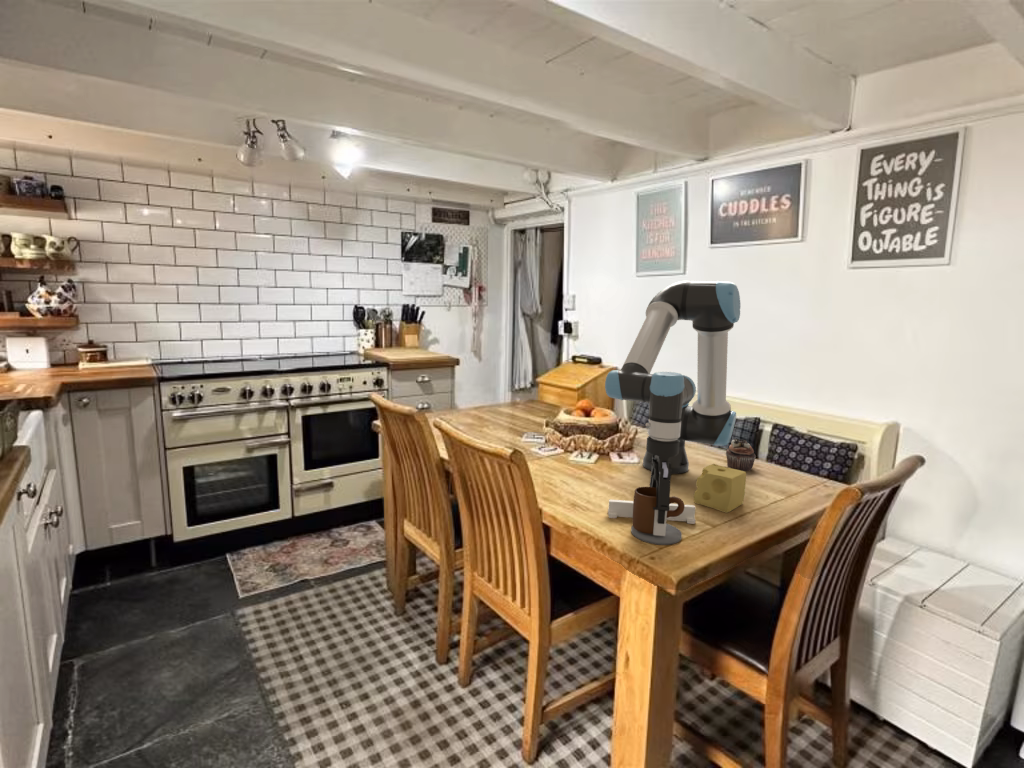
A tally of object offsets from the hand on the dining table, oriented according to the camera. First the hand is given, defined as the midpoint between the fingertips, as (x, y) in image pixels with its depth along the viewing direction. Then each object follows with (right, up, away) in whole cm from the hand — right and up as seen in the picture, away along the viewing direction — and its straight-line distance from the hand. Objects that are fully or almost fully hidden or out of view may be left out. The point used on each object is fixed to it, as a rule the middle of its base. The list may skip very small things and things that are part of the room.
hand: (656, 527), depth 134 cm
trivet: (0, -2, 0) cm, 2 cm away
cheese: (+24, +1, +22) cm, 32 cm away
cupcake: (+44, +6, +56) cm, 71 cm away
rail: (+1, 0, +10) cm, 10 cm away
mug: (0, -1, -1) cm, 1 cm away
